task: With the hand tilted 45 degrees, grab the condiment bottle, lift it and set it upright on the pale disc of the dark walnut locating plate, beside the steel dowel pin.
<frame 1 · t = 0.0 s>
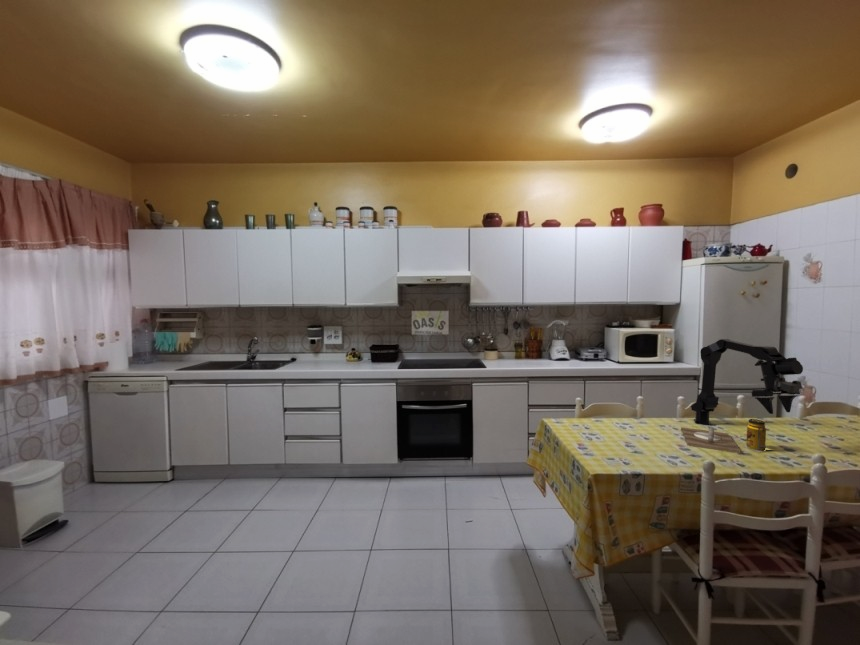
hand: (779, 413, 156), 15 cm above the table, tool pointing down, fingers open, 9 cm apart
locating plate: (707, 440, 167), on the table
condiment: (757, 448, 158), on the table
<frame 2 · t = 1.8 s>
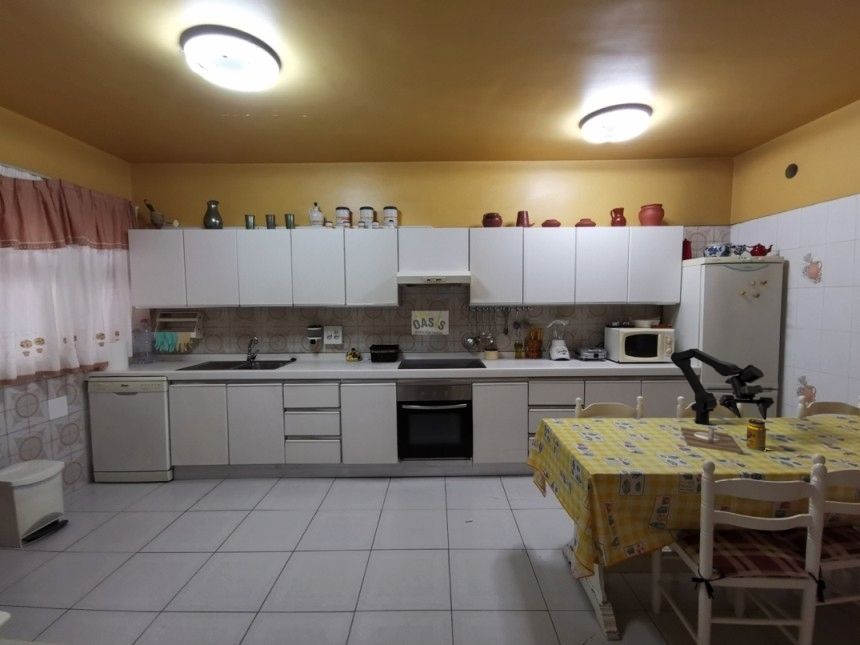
hand: (752, 418, 162), 11 cm above the table, tool tilted 45°, fingers open, 9 cm apart
nothing on the table moved.
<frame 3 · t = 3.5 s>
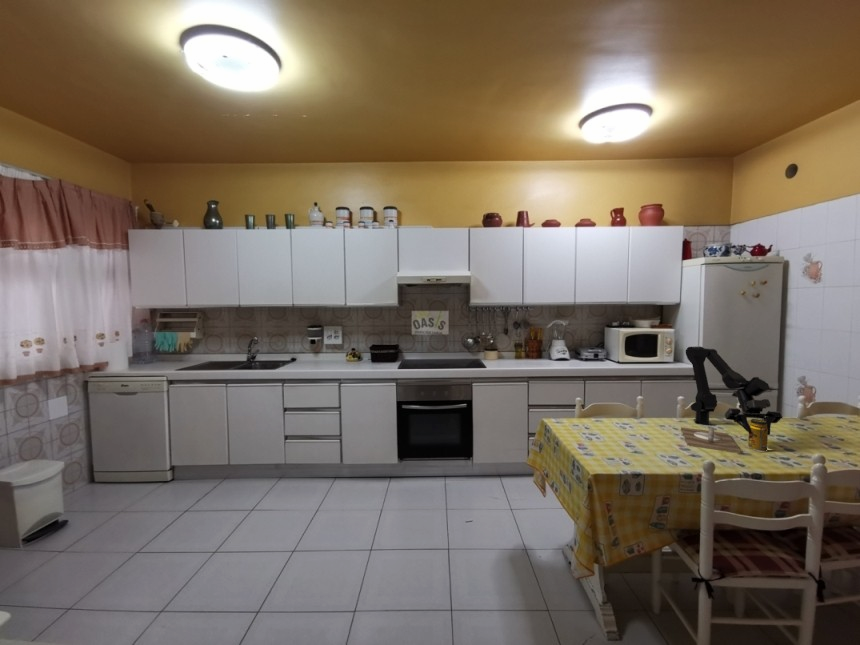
hand: (759, 433, 156), 7 cm above the table, tool tilted 45°, fingers closed on condiment, 6 cm apart
condiment: (759, 448, 158), on the table, touching gripper
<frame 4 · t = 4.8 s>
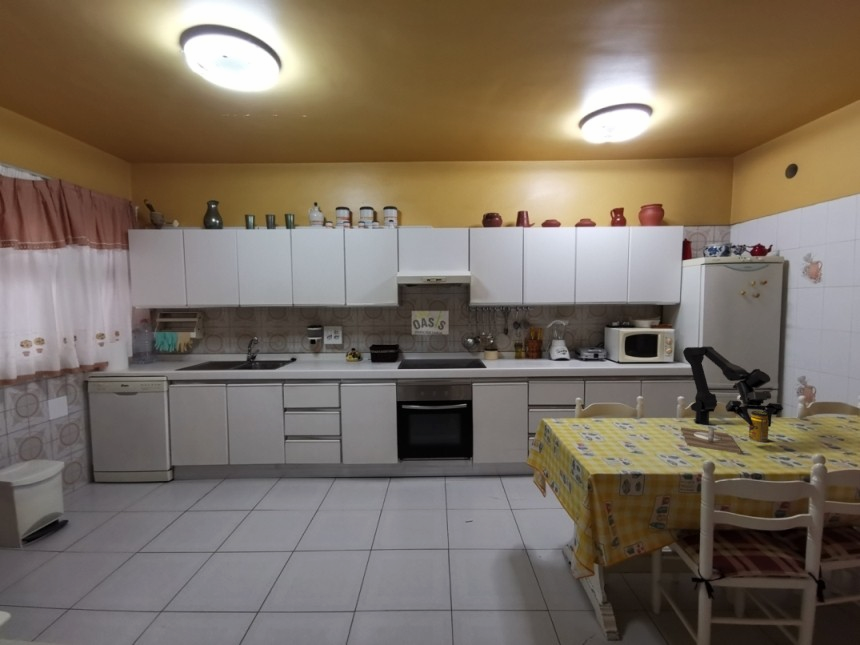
hand: (760, 425, 156), 10 cm above the table, tool tilted 45°, fingers closed on condiment, 6 cm apart
condiment: (760, 440, 158), point 3 cm above the table, touching gripper
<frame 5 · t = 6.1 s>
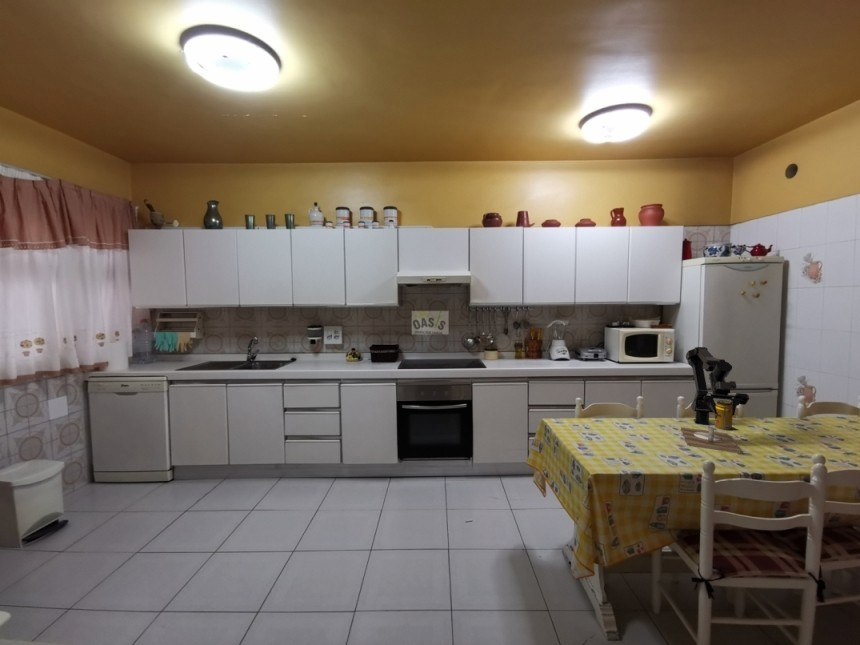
hand: (724, 414, 163), 13 cm above the table, tool tilted 45°, fingers closed on condiment, 6 cm apart
condiment: (725, 428, 164), point 6 cm above the table, touching gripper
when the fingers open (9 cm above the table, at t = 8.1 s): condiment stays where it is, resting on locating plate.
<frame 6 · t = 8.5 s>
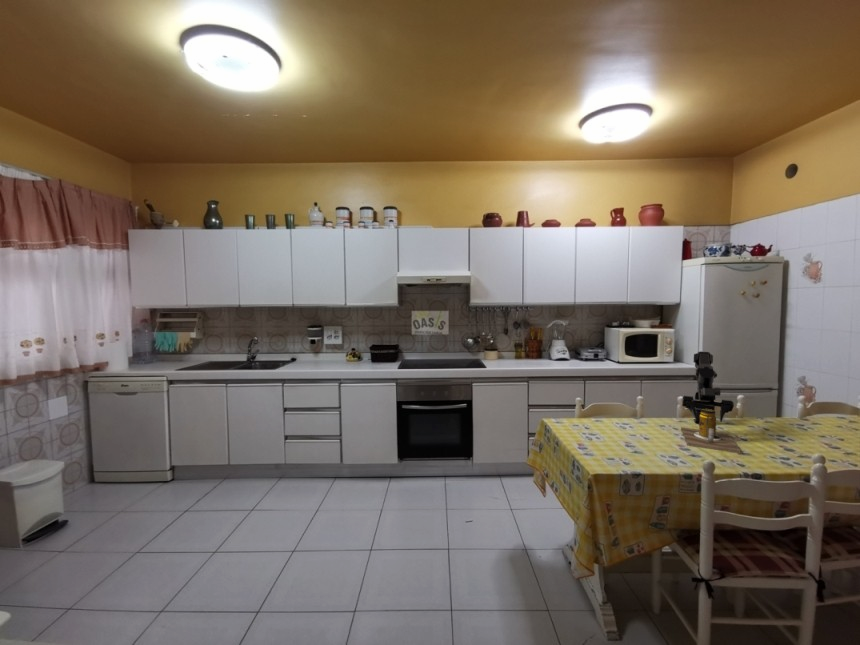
hand: (708, 419, 167), 9 cm above the table, tool tilted 45°, fingers open, 9 cm apart
condiment: (709, 436, 168), point 1 cm above the table, touching locating plate
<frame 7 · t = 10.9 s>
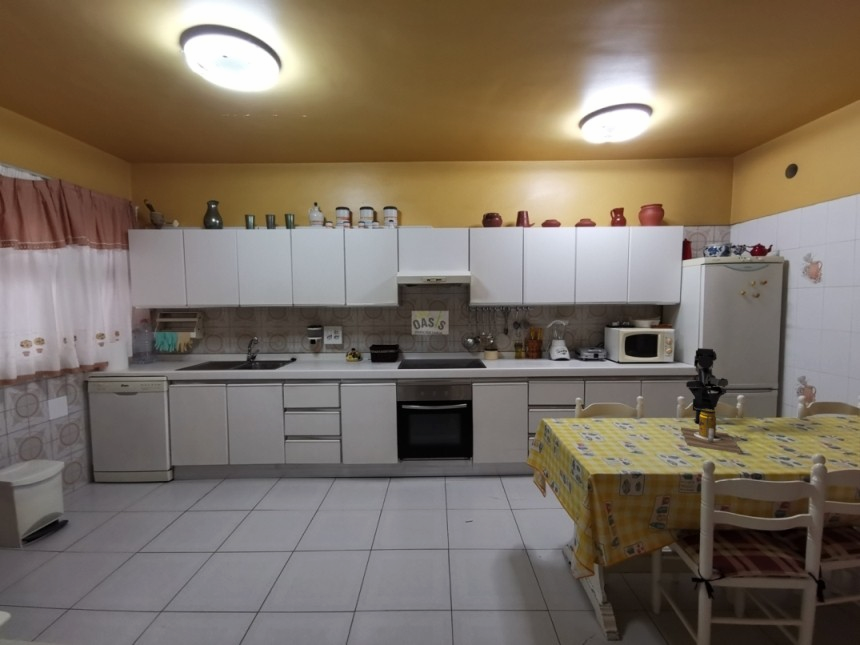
hand: (707, 405, 176), 13 cm above the table, tool tilted 25°, fingers open, 9 cm apart
nothing on the table moved.
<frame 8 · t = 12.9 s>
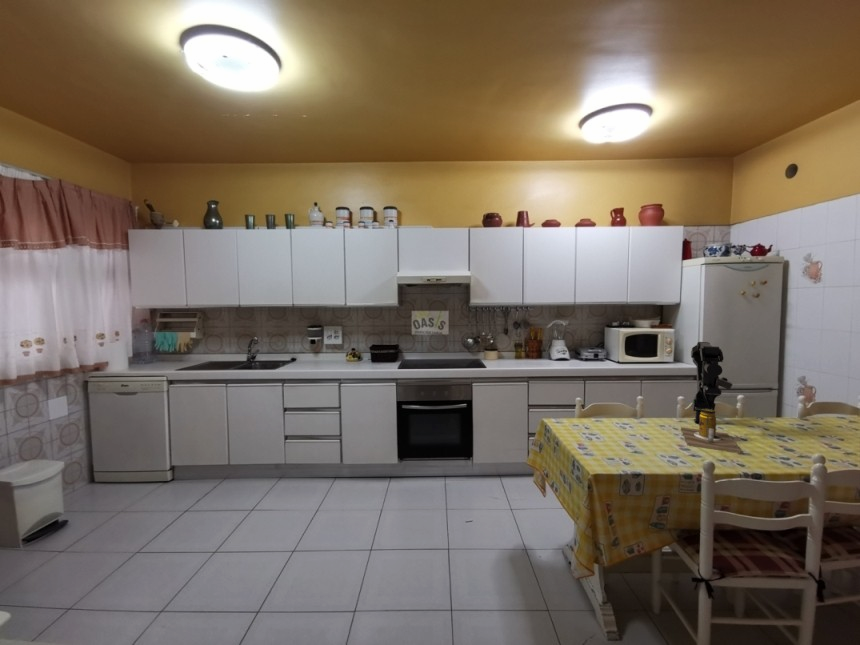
hand: (708, 404, 177), 13 cm above the table, tool pointing down, fingers open, 9 cm apart
nothing on the table moved.
at the end: condiment 0.8 cm from the target spot on the locating plate, point 1.2 cm above the locating plate's base; condiment tilted 0°; the gripper is holding nothing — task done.
